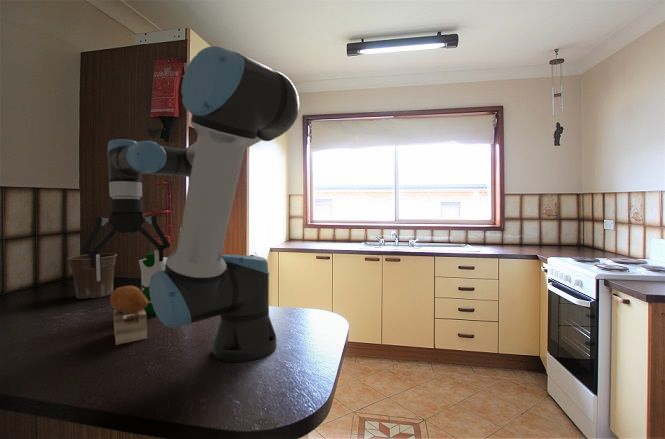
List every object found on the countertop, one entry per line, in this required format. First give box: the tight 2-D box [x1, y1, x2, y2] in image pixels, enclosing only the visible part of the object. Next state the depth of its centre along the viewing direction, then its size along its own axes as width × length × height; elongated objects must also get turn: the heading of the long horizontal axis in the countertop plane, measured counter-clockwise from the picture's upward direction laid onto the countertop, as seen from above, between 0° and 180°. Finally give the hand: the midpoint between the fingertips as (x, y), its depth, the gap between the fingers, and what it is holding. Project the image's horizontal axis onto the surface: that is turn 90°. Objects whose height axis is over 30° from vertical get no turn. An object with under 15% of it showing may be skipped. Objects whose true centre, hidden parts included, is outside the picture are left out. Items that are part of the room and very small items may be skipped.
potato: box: [109, 285, 148, 314], centre depth 90 cm, size 7×13×7 cm, turn 50°
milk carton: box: [138, 252, 168, 315], centre depth 112 cm, size 9×9×20 cm
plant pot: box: [67, 253, 118, 300], centre depth 134 cm, size 16×16×16 cm
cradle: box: [113, 309, 148, 346], centre depth 90 cm, size 10×7×6 cm
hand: (129, 276), depth 90 cm, fingers open, 13 cm apart
